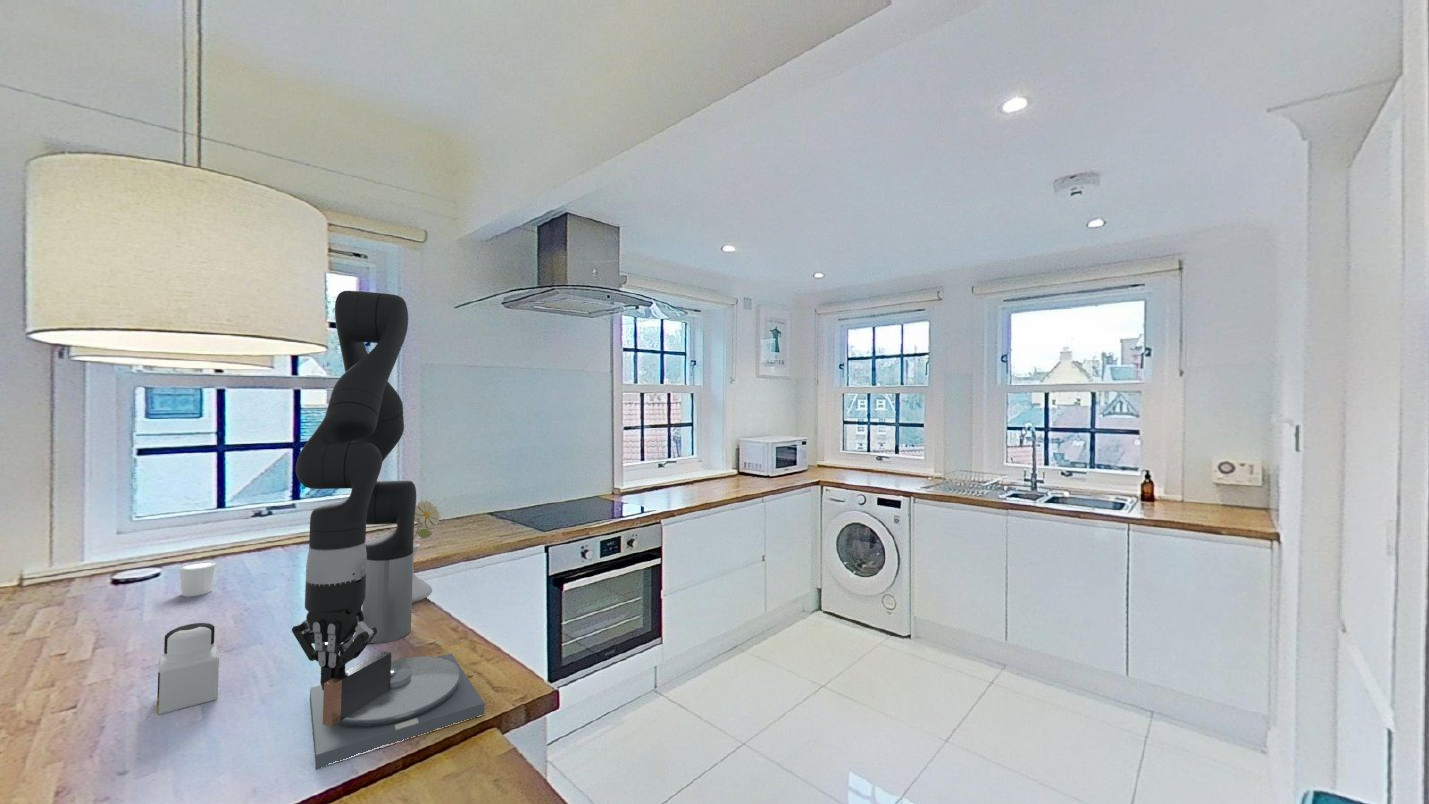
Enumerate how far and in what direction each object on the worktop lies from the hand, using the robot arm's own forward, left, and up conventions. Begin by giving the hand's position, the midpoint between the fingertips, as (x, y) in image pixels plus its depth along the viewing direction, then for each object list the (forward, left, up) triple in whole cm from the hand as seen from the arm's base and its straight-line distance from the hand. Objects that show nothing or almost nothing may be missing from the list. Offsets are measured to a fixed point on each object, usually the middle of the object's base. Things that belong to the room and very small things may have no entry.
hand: (332, 688), depth 82 cm
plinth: (-3, +9, -7) cm, 12 cm away
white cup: (-93, -23, -7) cm, 96 cm away
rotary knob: (-2, +8, -5) cm, 9 cm away
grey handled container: (-26, -18, -7) cm, 33 cm away
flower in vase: (-57, +20, -7) cm, 61 cm away
